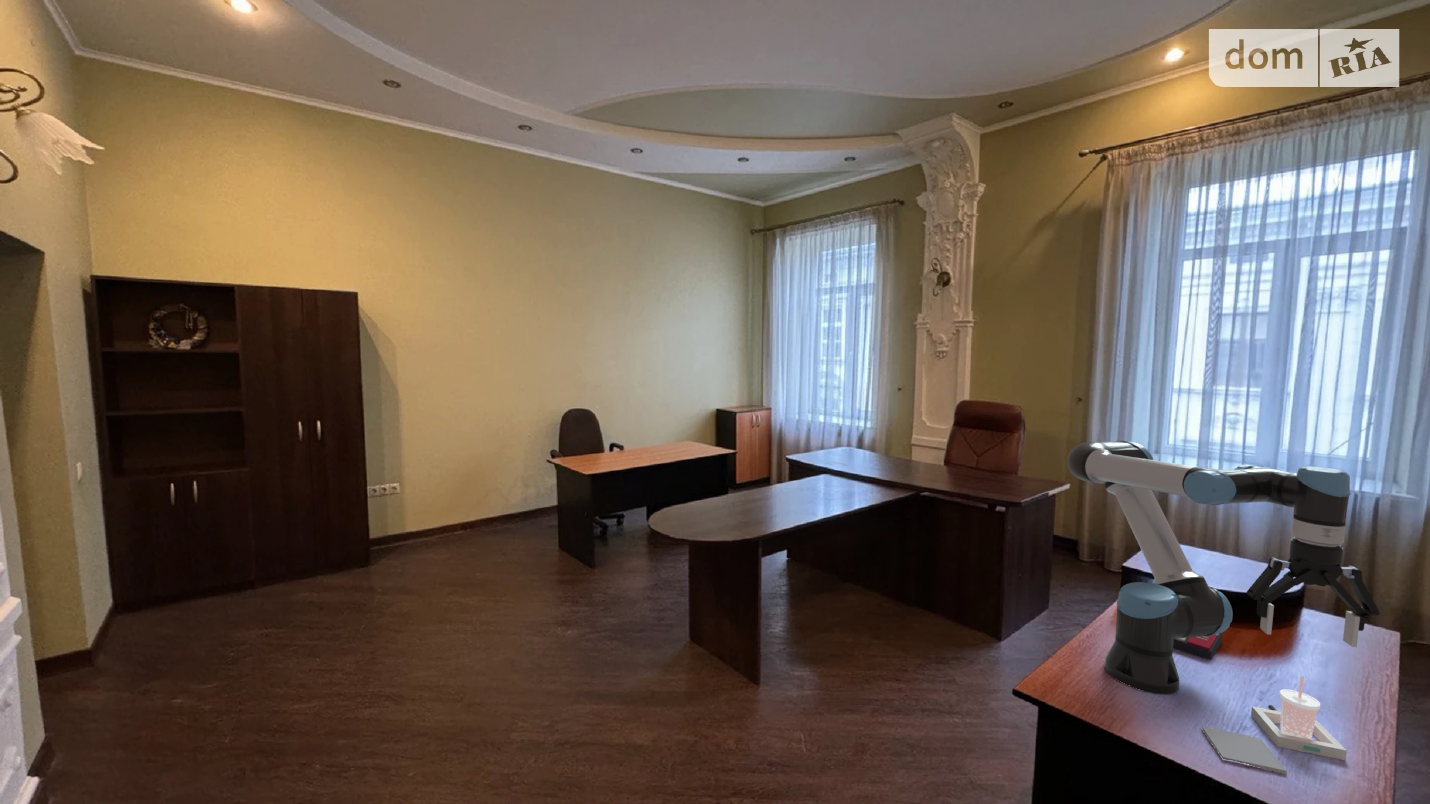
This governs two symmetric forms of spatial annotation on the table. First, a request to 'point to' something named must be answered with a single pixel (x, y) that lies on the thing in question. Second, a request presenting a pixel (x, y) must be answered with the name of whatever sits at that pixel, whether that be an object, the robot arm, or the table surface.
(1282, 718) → the beverage cup
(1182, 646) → the red and black box
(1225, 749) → the coaster pad
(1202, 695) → the table surface
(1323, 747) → the beige flat rectangular frame
